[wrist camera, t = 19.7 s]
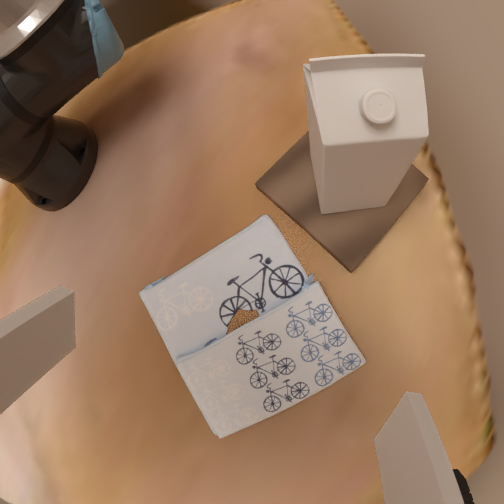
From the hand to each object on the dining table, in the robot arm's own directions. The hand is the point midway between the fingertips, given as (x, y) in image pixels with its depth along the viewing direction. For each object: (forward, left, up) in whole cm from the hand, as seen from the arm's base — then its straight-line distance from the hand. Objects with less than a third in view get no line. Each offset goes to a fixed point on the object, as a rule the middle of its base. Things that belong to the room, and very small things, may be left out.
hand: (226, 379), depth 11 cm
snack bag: (-3, -3, -24) cm, 24 cm away
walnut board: (-6, +16, -23) cm, 29 cm away
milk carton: (-6, +16, -21) cm, 28 cm away
